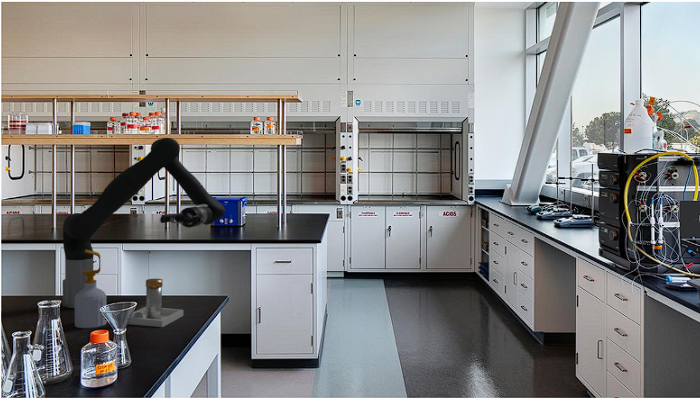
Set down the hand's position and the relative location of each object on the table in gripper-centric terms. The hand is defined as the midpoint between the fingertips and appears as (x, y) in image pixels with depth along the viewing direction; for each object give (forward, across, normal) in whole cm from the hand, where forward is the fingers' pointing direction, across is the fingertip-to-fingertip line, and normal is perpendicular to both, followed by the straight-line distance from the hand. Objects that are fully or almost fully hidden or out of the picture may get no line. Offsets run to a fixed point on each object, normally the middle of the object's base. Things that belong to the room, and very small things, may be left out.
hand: (172, 220), depth 203 cm
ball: (+20, -2, +31) cm, 37 cm away
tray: (+16, +2, +32) cm, 36 cm away
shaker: (+16, +2, +31) cm, 35 cm away
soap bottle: (+26, -14, +32) cm, 44 cm away
